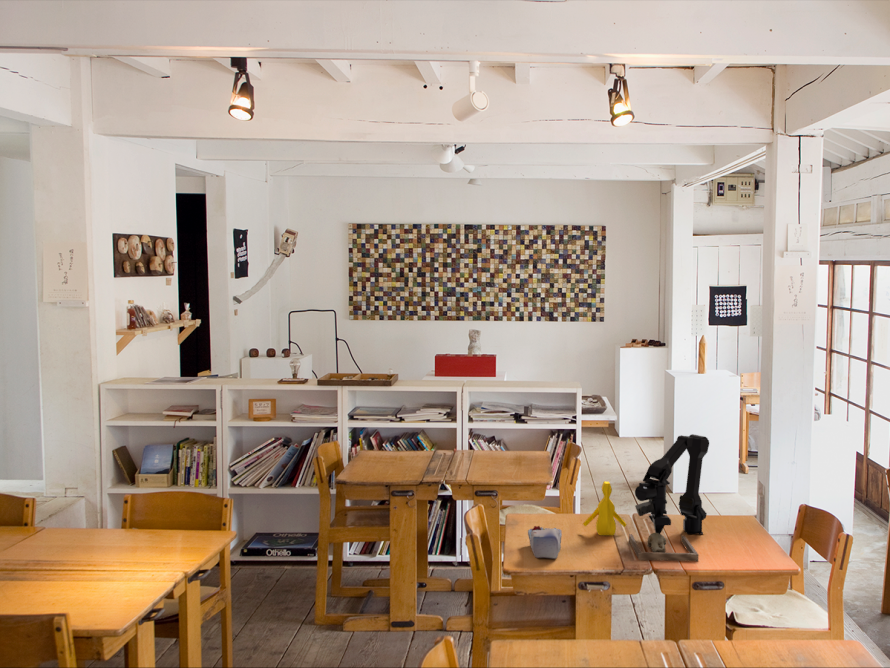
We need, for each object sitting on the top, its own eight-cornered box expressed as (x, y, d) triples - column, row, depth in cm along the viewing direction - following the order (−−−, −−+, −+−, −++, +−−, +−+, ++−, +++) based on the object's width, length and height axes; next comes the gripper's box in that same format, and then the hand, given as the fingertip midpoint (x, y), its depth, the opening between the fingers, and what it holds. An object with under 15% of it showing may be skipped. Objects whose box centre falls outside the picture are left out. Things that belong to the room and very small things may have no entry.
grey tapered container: (530, 532, 273) (527, 516, 293) (530, 561, 274) (527, 543, 294) (566, 532, 272) (560, 516, 292) (566, 561, 273) (560, 543, 293)
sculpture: (671, 559, 277) (664, 542, 292) (671, 547, 276) (664, 530, 291) (652, 560, 278) (645, 543, 293) (651, 547, 277) (645, 531, 292)
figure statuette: (625, 531, 306) (626, 478, 305) (629, 537, 298) (630, 483, 297) (581, 530, 307) (582, 478, 305) (584, 537, 299) (585, 483, 298)
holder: (684, 541, 294) (684, 535, 293) (698, 561, 273) (698, 554, 273) (629, 540, 295) (629, 534, 295) (638, 559, 275) (638, 553, 274)
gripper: (633, 489, 302) (632, 527, 303) (641, 503, 283) (641, 543, 284) (661, 490, 301) (660, 528, 302) (671, 503, 282) (670, 544, 283)
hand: (657, 535), depth 293 cm, fingers closed
